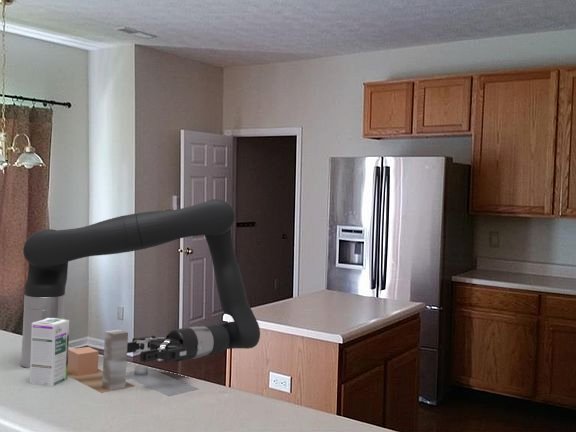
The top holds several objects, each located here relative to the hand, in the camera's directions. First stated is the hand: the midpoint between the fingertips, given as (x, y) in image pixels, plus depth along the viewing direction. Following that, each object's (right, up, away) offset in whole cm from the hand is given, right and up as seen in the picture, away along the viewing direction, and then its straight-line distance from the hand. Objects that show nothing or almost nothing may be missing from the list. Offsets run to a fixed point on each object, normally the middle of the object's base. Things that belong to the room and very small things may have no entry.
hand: (130, 352), depth 130 cm
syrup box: (-18, -7, -1) cm, 19 cm away
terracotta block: (-13, -6, +7) cm, 16 cm away
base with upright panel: (-9, -7, +3) cm, 12 cm away
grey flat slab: (+5, -8, +3) cm, 10 cm away
